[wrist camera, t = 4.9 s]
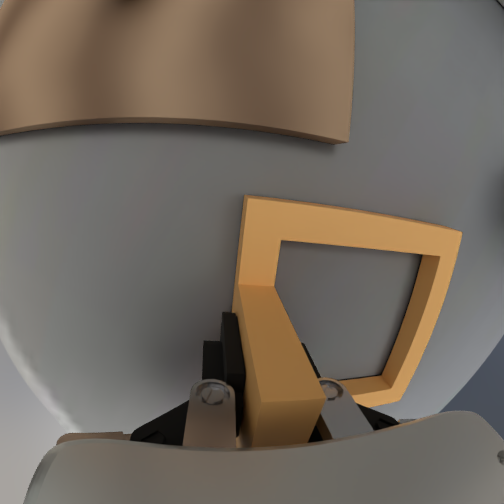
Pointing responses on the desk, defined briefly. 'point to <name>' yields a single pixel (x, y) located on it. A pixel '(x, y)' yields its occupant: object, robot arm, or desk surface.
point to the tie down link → (282, 331)
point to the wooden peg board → (179, 64)
